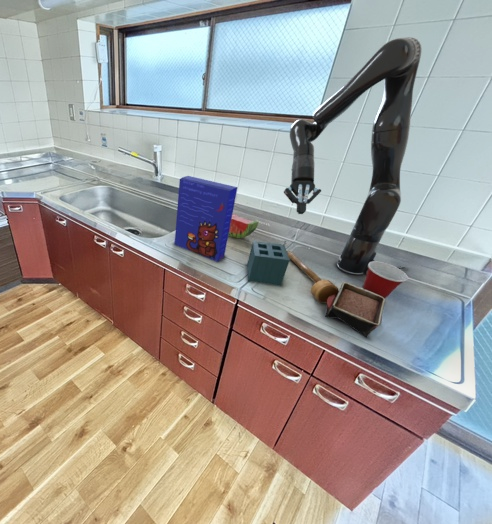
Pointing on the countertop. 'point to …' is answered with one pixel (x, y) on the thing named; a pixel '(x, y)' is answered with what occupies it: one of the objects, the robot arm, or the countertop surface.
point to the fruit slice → (241, 227)
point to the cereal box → (204, 216)
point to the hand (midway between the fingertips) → (301, 213)
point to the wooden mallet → (316, 282)
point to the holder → (267, 263)
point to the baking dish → (356, 308)
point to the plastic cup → (383, 278)
